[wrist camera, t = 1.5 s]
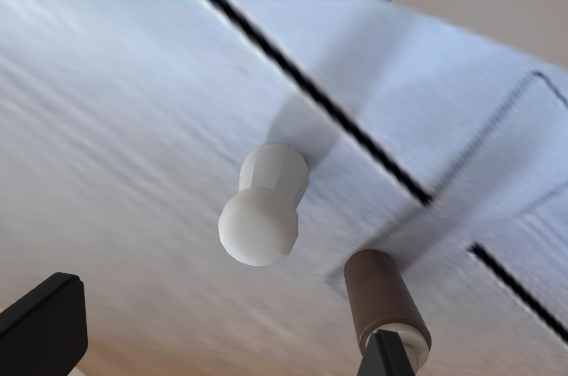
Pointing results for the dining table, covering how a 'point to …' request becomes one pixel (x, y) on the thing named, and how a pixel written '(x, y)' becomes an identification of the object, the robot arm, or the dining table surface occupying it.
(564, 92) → the dining table surface
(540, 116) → the dining table surface
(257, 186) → the salt shaker
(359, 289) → the pepper mill
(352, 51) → the dining table surface
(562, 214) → the dining table surface
